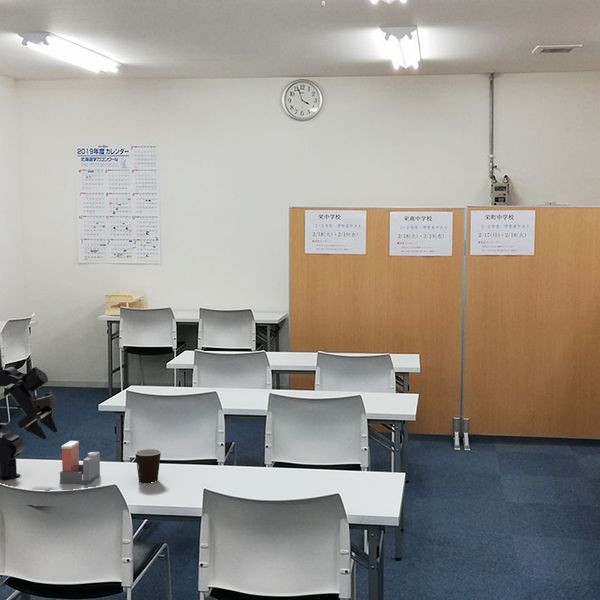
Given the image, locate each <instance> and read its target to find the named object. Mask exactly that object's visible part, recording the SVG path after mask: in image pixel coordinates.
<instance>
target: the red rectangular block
mask: <svg viewBox="0 0 600 600" xmlns="http://www.w3.org/2000/svg"><path fill="white" fill-rule="evenodd" d="M79 444H80V441H79V440H69V441H68V442H66V443H64V444H62V445H61V458H62V459H61V460H62V461H61V468H62V470H61V471H71V472H79V464H80V453H79V451H80V447H79Z"/></svg>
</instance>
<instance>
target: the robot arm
mask: <svg viewBox="0 0 600 600" xmlns="http://www.w3.org/2000/svg"><path fill="white" fill-rule="evenodd" d="M48 382H49V378H48V375H47V374H46V373H45V372H44V370H41V369H39V368H38V367H37V366H35V367H32V368H31V369H30V370H29V371H28V372H26V373H25V372H22V371H19V370H18V368H16V367H14V366H9V367H6V368H3V369H1V370H0V387H5V388H4V390H3V391H4V392H3V397H6V396H9V395H10V396H11V397H12V399H13V401H15V403H16V404H17V405H18V406H17V407H16V408H17V410H19V411H20V410H21V411H22V412H23V414H24V415H25V416H23V417H22V418H21V419H19V420H18V421H17V427H18V428H19V429H20V430H22V429H23V430H24V431H27V432H28V433H31V434H33V435H34V436H37V437H39V438H40V439H42V440H44V441H45V440H46V439H47V438H48V437H47V435H46V432H45V431H44V428H43V427H42V425H41V424H43V426H45V427H46V428H48V429H49V430H50V431H51V432H53V433H54V434H56V433H57V432H58V428H57V424H56V422H55V419H54V415H55V411H56V410H55V409H56V406H55V405H54V404H56V395H55V394H54V393H53V392H52V391H49V392H46V393H44V396H42V397H38V395H33V393H32V392H36V391H37V390H39V389H40V388H41V387H43V386H44V385H45V384H47V383H48ZM12 384H13V385H12ZM10 385H11V386H10ZM8 386H10V387H8ZM24 447H25V443H24V440H23V439H22V438H21V435H17V434H16V433H14V431H11V430H9V431H7V432H5V433H3V432H1V431H0V480H2V481H8V480H10V479H14V478H18V477H21V476H22V475H21V474H20V473H17V468H18V467H17V458H19V456H20V453H21V452H23V450H24Z"/></svg>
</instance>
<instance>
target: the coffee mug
mask: <svg viewBox="0 0 600 600" xmlns="http://www.w3.org/2000/svg"><path fill="white" fill-rule="evenodd" d="M161 453H162V452H161V450H159V449H156V448H143V449H140V450H137V451H135V454H134V455H135V461H136V469H137V476H138V482H139V483H140V482H141V483H140V484H144V483H150V484H152V483H151V482H155V481H157V480H158V481H159V473H160V472H159V471H160V463H161ZM158 481H157V482H158ZM155 483H156V482H155Z"/></svg>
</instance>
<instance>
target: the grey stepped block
mask: <svg viewBox="0 0 600 600" xmlns="http://www.w3.org/2000/svg"><path fill="white" fill-rule="evenodd" d="M100 460H101V459H100V451H91V452H87V456H86V457H85V458H84V459H83V460H82V463H79V472H71V471H62V470H61V471H59V484H61V485H84V486H85V485H86V486H87V485H88V486H89V485H91V484H92V483H93V482H94V481H95V480H97V479H98V478H99V477H100V476H101V469H100V468H101V461H100Z"/></svg>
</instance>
